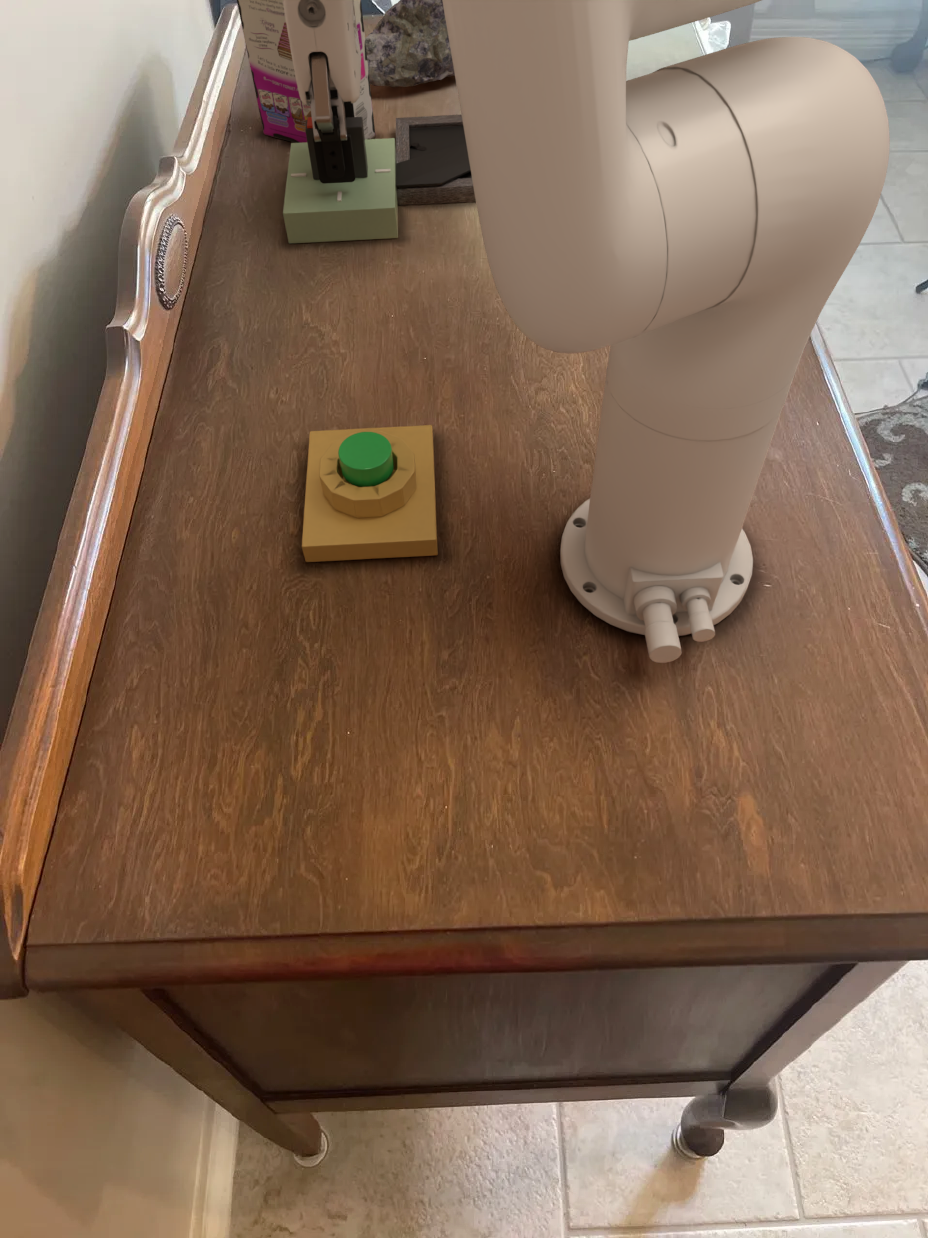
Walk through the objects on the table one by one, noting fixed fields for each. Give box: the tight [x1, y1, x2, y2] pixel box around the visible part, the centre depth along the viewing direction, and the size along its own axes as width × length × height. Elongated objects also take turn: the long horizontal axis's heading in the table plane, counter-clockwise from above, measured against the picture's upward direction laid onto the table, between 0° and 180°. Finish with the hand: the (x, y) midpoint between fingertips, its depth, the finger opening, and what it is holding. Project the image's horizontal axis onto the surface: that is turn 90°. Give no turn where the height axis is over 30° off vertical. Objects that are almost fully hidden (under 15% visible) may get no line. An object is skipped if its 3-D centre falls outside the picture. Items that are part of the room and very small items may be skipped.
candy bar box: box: [236, 0, 376, 143], centre depth 88 cm, size 11×5×16 cm, turn 62°
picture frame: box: [395, 114, 476, 206], centre depth 90 cm, size 13×2×18 cm
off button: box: [338, 432, 394, 487], centre depth 62 cm, size 4×4×2 cm
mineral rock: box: [365, 0, 455, 88], centre depth 98 cm, size 13×11×10 cm
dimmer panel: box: [282, 137, 399, 244], centre depth 86 cm, size 12×10×3 cm
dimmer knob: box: [305, 117, 368, 180], centre depth 83 cm, size 5×2×5 cm, turn 93°
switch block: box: [301, 424, 439, 563], centre depth 64 cm, size 11×9×4 cm
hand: (338, 159), depth 84 cm, fingers open, 5 cm apart
